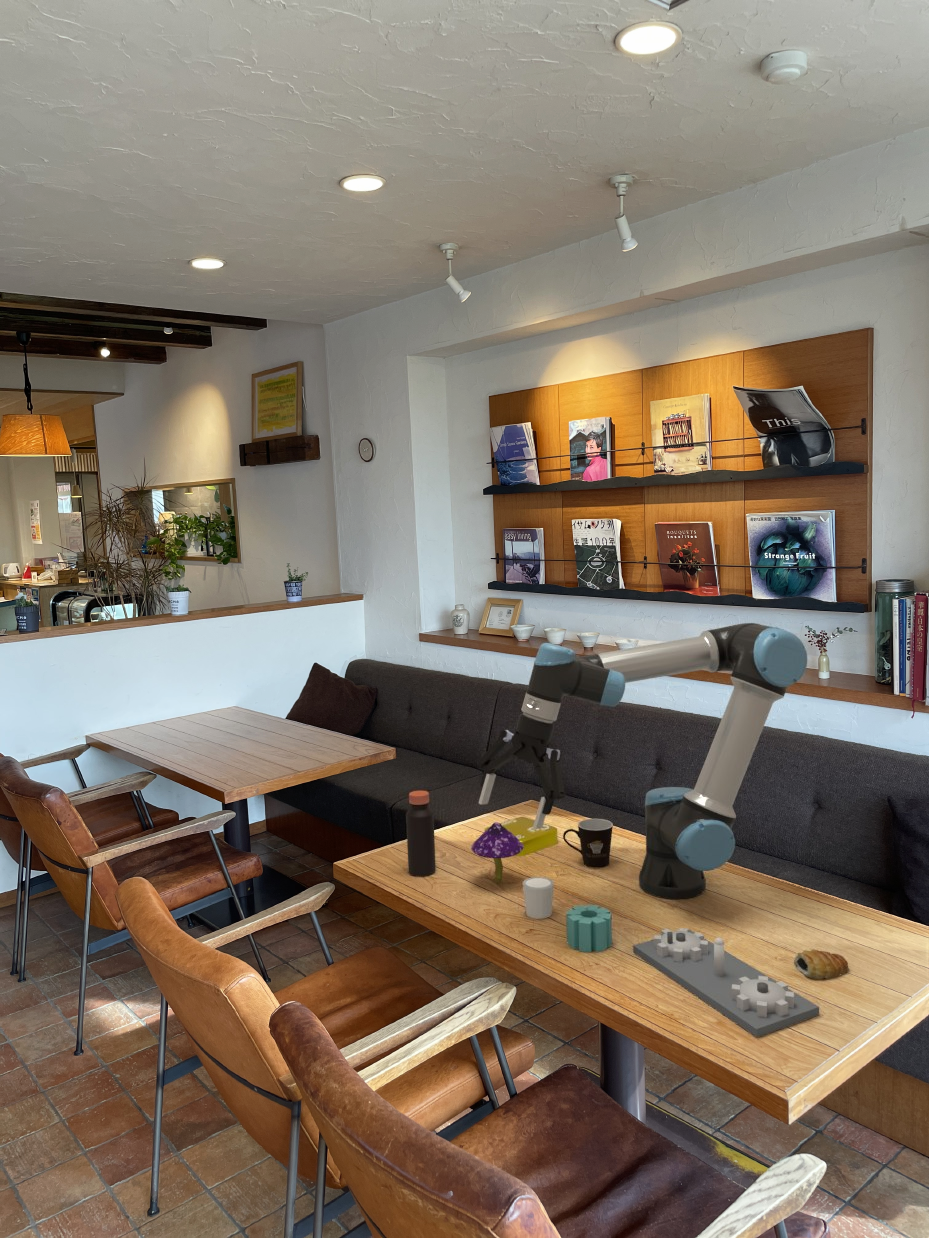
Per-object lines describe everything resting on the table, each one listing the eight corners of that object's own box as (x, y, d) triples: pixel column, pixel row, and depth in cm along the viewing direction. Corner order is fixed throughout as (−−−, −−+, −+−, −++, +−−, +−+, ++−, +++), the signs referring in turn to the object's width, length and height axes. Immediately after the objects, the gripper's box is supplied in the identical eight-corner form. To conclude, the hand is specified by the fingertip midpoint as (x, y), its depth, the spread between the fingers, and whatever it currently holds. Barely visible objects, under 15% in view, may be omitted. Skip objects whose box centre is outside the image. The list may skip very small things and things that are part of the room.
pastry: (835, 959, 175) (835, 940, 175) (856, 976, 169) (857, 957, 168) (790, 966, 173) (790, 947, 173) (810, 983, 167) (811, 964, 166)
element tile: (522, 830, 254) (521, 813, 254) (561, 843, 243) (560, 826, 242) (481, 844, 245) (481, 826, 244) (519, 858, 233) (519, 840, 233)
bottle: (433, 877, 222) (429, 797, 220) (405, 876, 223) (402, 797, 221) (438, 866, 229) (435, 789, 226) (411, 866, 230) (408, 789, 228)
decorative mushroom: (461, 883, 218) (459, 822, 216) (499, 868, 226) (497, 810, 224) (497, 898, 208) (495, 835, 207) (535, 882, 216) (534, 821, 215)
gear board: (689, 936, 186) (689, 896, 186) (819, 1015, 156) (819, 968, 155) (633, 952, 180) (632, 911, 180) (756, 1037, 150) (756, 989, 149)
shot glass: (552, 920, 196) (552, 889, 195) (521, 919, 197) (520, 888, 197) (556, 907, 203) (555, 877, 202) (525, 905, 204) (524, 875, 203)
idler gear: (595, 928, 191) (594, 901, 191) (620, 945, 183) (619, 917, 183) (559, 938, 188) (558, 910, 187) (583, 956, 180) (582, 927, 179)
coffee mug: (618, 859, 229) (617, 821, 228) (605, 872, 221) (605, 832, 220) (575, 852, 235) (575, 815, 234) (562, 864, 227) (561, 825, 226)
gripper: (479, 698, 191) (452, 794, 192) (582, 737, 178) (552, 840, 179) (497, 699, 198) (470, 793, 199) (598, 737, 184) (569, 836, 185)
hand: (509, 815), depth 189 cm, fingers open, 13 cm apart
